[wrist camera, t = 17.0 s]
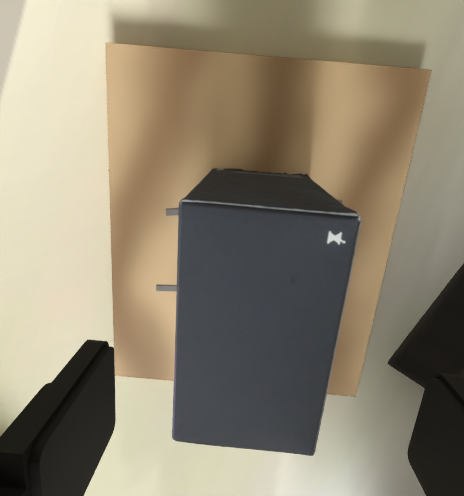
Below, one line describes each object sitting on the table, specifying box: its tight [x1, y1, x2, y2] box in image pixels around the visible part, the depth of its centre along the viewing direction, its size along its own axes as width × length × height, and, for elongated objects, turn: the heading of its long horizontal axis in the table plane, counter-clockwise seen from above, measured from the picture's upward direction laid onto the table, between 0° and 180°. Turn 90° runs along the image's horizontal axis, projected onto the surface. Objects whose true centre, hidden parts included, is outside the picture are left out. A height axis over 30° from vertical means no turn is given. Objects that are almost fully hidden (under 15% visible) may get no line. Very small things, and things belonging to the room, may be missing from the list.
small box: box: [172, 168, 362, 456], centre depth 18 cm, size 11×6×10 cm, turn 176°
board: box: [106, 43, 431, 397], centre depth 23 cm, size 18×22×2 cm
